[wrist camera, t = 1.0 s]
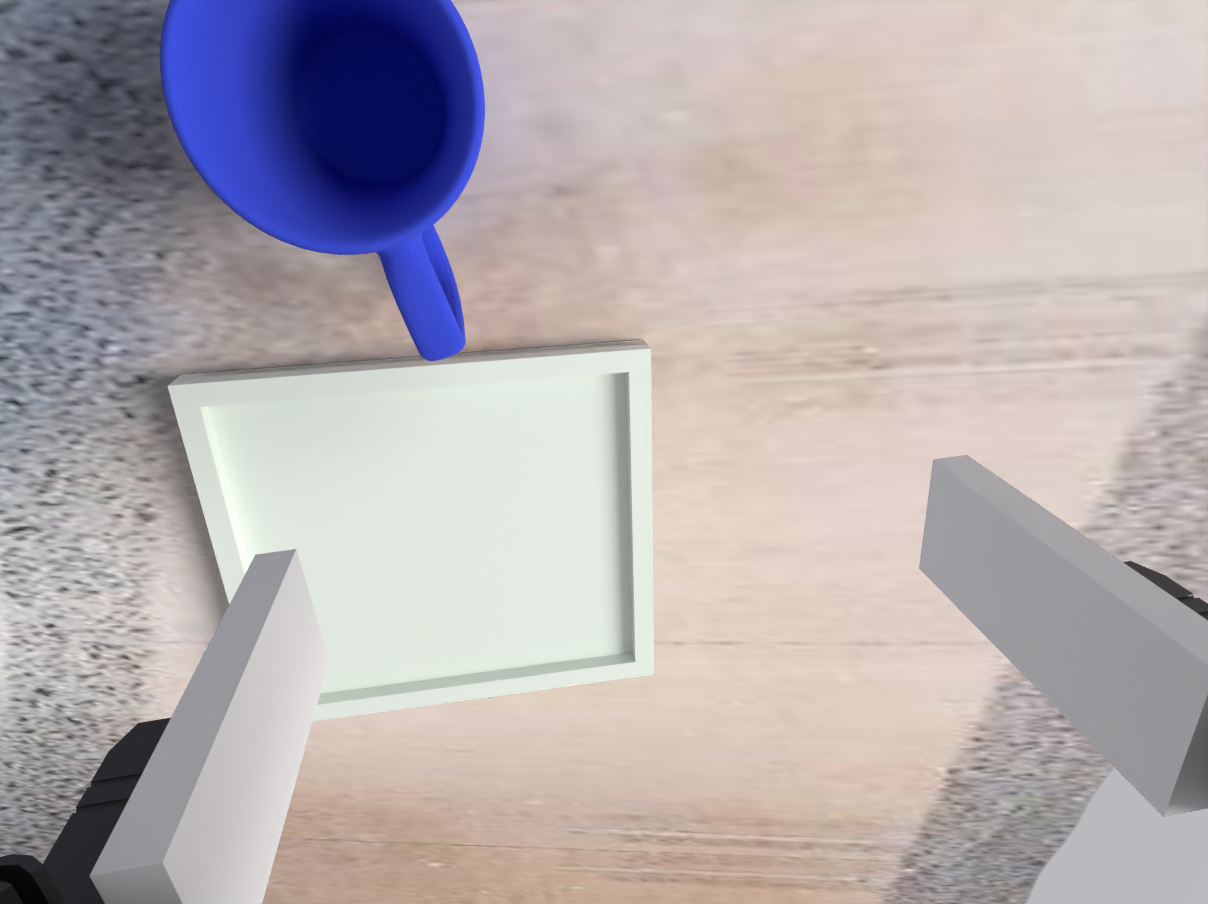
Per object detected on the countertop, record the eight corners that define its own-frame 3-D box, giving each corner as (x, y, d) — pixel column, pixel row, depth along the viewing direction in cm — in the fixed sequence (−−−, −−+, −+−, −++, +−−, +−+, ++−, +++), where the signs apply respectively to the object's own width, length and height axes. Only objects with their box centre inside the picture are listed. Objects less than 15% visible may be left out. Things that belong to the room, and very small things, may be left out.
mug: (364, 336, 32) (320, 413, 23) (219, 30, 27) (87, -28, 18) (543, 272, 32) (570, 324, 23) (432, -44, 27) (410, -138, 18)
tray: (181, 374, 31) (167, 385, 30) (643, 339, 34) (650, 348, 32) (272, 705, 38) (263, 728, 37) (647, 655, 41) (653, 674, 39)
